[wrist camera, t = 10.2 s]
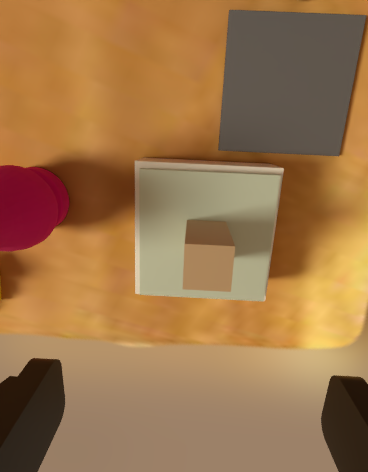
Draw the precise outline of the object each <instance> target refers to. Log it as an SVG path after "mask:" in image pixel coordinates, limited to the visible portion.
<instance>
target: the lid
mask: <svg viewBox="0 0 368 472" xmlns="http://www.w3.org/2000/svg"><path fill="white" fill-rule="evenodd" d="M280 177H281V175H278V174H264V173H242V172H220V171H198V170H176V169H154V168H140V169H139V221H140V295H155V296H174V297H192V298H211V299H229V300H248V301H264V294H265V287H266V280H267V272H268V265H269V257H270V250H271V243H272V235H273V228H274V221H275V213H276V206H277V199H278V191H279V184H280Z"/></svg>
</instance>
